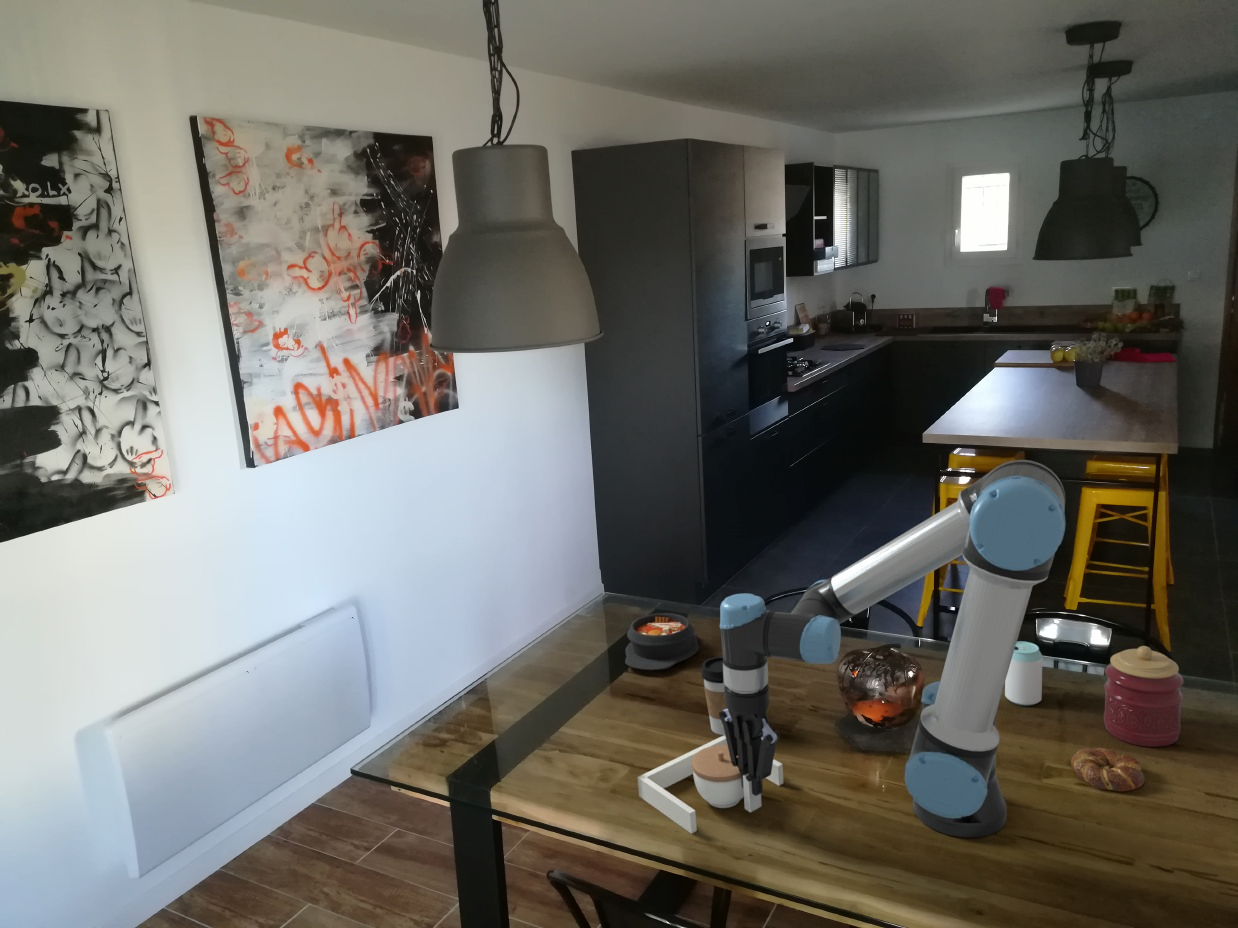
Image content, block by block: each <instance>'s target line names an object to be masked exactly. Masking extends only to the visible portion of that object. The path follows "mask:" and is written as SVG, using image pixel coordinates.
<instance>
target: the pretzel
mask: <svg viewBox="0 0 1238 928" xmlns="http://www.w3.org/2000/svg"><path fill="white" fill-rule="evenodd" d="M1070 764H1071V767H1072V769H1073V771H1074V772H1075V773H1076V776H1077V777H1078V778H1079V779H1080V780H1082V781H1083V782H1086V783H1089V784H1090V786H1092V787H1093V788H1096V789H1099V790H1104V791H1107V790H1108V791H1113V792H1129V791H1132V790H1136V789H1138V788H1140V787H1141V786H1143V784H1144V783H1145V781H1146V780H1145V775H1144V773H1143V772H1142V771H1141V770H1142V766H1141V764H1140V761H1138V760H1137V759H1136V758H1135V757H1133V756H1131V755H1128V754H1123V755H1119V753H1118V752H1115V751H1114V750H1112V749H1109V748H1105V747H1096V748H1092V747H1091V748H1081V749H1079V750H1076V752H1075V753H1074V754H1073V755H1072V757H1071V761H1070Z"/></svg>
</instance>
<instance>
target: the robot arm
mask: <svg viewBox="0 0 1238 928" xmlns="http://www.w3.org/2000/svg"><path fill="white" fill-rule="evenodd" d="M1065 507H1066V492H1065V489H1064V486H1063V483H1062V481H1061V480H1060V479H1059V477H1058V476H1057V474H1055V472H1054V471H1053V470H1052V469H1050V468H1049V467H1047V466H1046V465H1044V464H1042V463H1039V462H1037V461H1033V460H1029V459H1028V460H1027V459H1016V460H1011V461H1006V462H1004V463H1002V464H1000V465H998V466H996V467H994V468H993V469H992V470H990V471H989V472H987V473H986V474H985V475H984V476H982V477H981V478H980V479H978V480H976V481H975V482H974V483H972V484H970V485H969V486H967V487H966V488H964V489H962V490H961V491H959V493H958V496H957V501H956V502H953V503H952V504H950V505H949V506H947V507H946V508H944V509H942V510H940V511H939V512H937V513H935V514H934V515H932V516H931V517H929V518H927V519H925V520H924V521H922V522H921V523H919V524H917V525H916V526H914V527H912V528H910V529H908V530H907V531H906V532H904V533H902V534H901V535H899V536H897V537H895V538H894V539H892V540H891V541H889V542H887V543H886V544H883V545H882V546H880V547H879V548H878V549H876V550H874V551H872V552H871V553H869V554H867V555H866V556H864V557H862V558H861V559H859V560H857V561H856V562H854V563H852V564H851V565H849V566H847V567H846V568H843V570H841V571H840V572H837V573H836V574H834V575H833V576H831V577H830V578H827V579H820V580H818V581H815V582H814V583H813V584H812V585H810V586H809V587H808V588H807V589H806V590H805V592H804V594H803V595H802V597H801V598H800V599H799V600H798V603H797V604H796V605H795V607H794V608H793V609H792V611H791V612H790V613H789V612H782V611H781V612H779V611H773V610H767V606H766V605H765V601H764V599H763V598H762V597H761V596H758V595H755V594H753V593H736V594H732V595H730V596H727V597H725V598H724V600H723V601H721V603H720V607H719V609H720V612H719V613H720V614H719V615H720V616H719V617H720V622H719V629H720V639H721V650H722V651H721V652H722V653H721V654H722V656H723V678H724V684H725V687H724V691H725V704H726V707H727V709H725V710H723V711H721V712H719V717H720V719H721V721H722V724H723V727H724V731H725V736H726V740H727V745H728V749H729V754H730V758H731V763H732V765H733V766H734V767H735V766H737V767H738V768H739V772H740V773H741V782H742V788H743V789H744V797H743V800H744V803H743V805H744V810H746V811H747V812H749V813H753V812H754V811H756V810H757V809H759V808H761V807H762V805H763V804H762V793H763V790H764V789H763V780H765V779H766V777H768V776H770V775H771V771H772V765H773V759H774V760H775V758H774V757H775V753H776V745H777V742H778V740H779V739H780V738H781V734H780V732H779V731H778V730H775V731H773V729H772V728H771V727H770V726H769V724H770V723H769V722H770V720H769V718H768V715H767V710H768V708H769V705H770V687H769V685H768V684H769V671H768V670H769V669H768V658H772V659H773V658H775V659H782V660H788V661H789V660H790V661H796V662H800V663H801V662H802V663H807V664H811V665H812V664H822V665H823V664H826V665H829V664H833V663H834V662H835V661H836V660H837V659H838V656H839V651H840V649H841V641H842V639H841V637H842V633H841V626H840V625H841V624H842V623H844V622H845V621H848V620H849V619H851V618H852V617H854V616H856V615H857V614H859V613H861V612H863V611H864V610H866V609H868V608H870V607H872V606H874V605H875V604H876V603H879V602H880V601H882V600H884V599H886V598H887V597H889V596H891V595H893V594H895V593H896V592H898V591H900V590H902V589H903V588H905V587H907V586H909V585H911V584H912V583H914V582H916V581H918V580H920V579H921V578H923V577H925V576H926V575H928V574H930V573H931V572H934V571H936V570H938V569H939V568H941V567H943V566H945V565H946V564H948V563H950V562H952V561H953V560H955V559H957V558H958V557H961V556H962V558H963V559H964V561H965V562H966V564H967V565H968V567H969V572H968V575H967V580H966V583H965V586H964V587H965V588H964V590H963V594H962V598H961V602H960V605H959V609H958V613H957V618H956V621H955V626H954V629H953V633H952V635H951V640H950V644H949V647H948V651H947V655H946V659H945V662H944V667H943V670H942V674H941V678H940V680H939V681H934V682H931V683H929V684H927V685H926V686H925V687H923V690H922V696H921V698H920V702H921V703H922V707H921V710H922V711H921V714H920V717H919V719H918V725H917V728H916V730H915V735H914V739H913V743H912V746H911V751H910V755H909V757H908V760H907V761H906V763H905V766H904V782H905V786H906V789H907V791H908V793H909V794H910V796H911V797H912V808H913V811H914V813H915V816H917V818H918V819H919V820H920V821H921V822H922V823H923V824H924V825H925V826H927V827H929V828H931V829H932V830H933V831H934V830H935V831H937V832H939V833H942V834H945V835H949V836H953V837H958V838H972V839H973V838H981V837H988V836H989V835H990V836H991V835H994V834H996V832H999V831H1000V830H1001V829H1002V828H1003V827H1004V826H1005V825H1006V823H1007V819H1008V817H1007V816H1008V815H1007V814H1008V813H1007V812H1008V809H1007V807H1008V806H1007V802H1006V799H1005V797H1004V794H1003V791H1002V788H1001V786H1000V782H999V779H998V777H997V772H996V771H997V770H996V767H997V766H996V765H997V759H996V758H997V757H996V756H997V750H998V747H999V744H1000V739H1001V738H1000V737H1001V736H1000V732H999V731H998V729H997V712H998V708H999V704H1000V701H1001V697H1002V693H1003V691H1004V688H1005V680H1006V677H1007V673H1008V670H1009V666H1010V663H1011V659H1012V656H1013V652H1014V649H1015V645H1016V642H1018V638H1019V636H1020V631H1021V628H1022V627H1021V626H1022V624H1023V621H1024V618H1025V614H1026V611H1027V607H1028V603H1029V600H1030V597H1031V592H1032V589H1033V586H1035V585H1037V584H1040V583H1043V582H1044V581H1046V580H1047V579H1048V577H1049V574H1050V570H1051V569H1052V568H1051V567H1052V564H1053V561H1054V557H1055V555H1056V554H1055V553H1056V552H1057V550H1058V548H1059V546H1061V544H1062V542H1063V539H1064V535H1065V531H1066V515H1065V509H1066V508H1065ZM736 756H738V757H736Z"/></svg>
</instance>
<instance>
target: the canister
mask: <svg viewBox="0 0 1238 928" xmlns="http://www.w3.org/2000/svg"><path fill="white" fill-rule="evenodd" d="M1109 661H1110V663H1109V664H1108V665H1107V666H1106V667H1105V671H1104V674H1105V675H1106V677H1107V681H1106V682H1105V683H1104V687H1103V688H1104V690H1105V691H1104V692H1105V695H1104V696H1105V697H1104V712H1103V723H1104V727H1105V730H1106V731H1107V732H1108V733H1109V734H1110V735H1112V736H1113V737H1114V738H1117V739H1118V740H1120V741H1123V742H1126V743H1129V744H1131V745H1134V746H1136V745H1137V746H1141V747H1148V748H1149V747H1150V748H1151V747H1152V748H1155V747H1156V748H1157V747H1160V748H1161V747H1166V746H1170V745H1172V744H1174V743H1176V742H1177V741H1178V739H1179V736H1180V734H1181V730H1182V729H1181V727H1182V724H1181V709H1182V702H1183V699H1184V697H1183V693H1182V692H1181V689H1180V688H1181V687H1182V686H1183V685H1184V679H1183V677H1182V675H1181V673H1179V670H1180V669H1179V665H1178V664H1177V663H1176V662H1175V661H1174V660H1173V659H1171V658H1169V657H1168V656H1166V655H1165V654H1163V653H1161V652H1159V651H1155V650H1152V649H1151V648H1150V647H1149V646H1146V645H1141V646H1138V647H1137V648H1129V649H1125V650H1122V651H1120V652H1117V653H1115V654H1113V655H1112V656H1111V657H1110V660H1109Z"/></svg>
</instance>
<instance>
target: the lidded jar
mask: <svg viewBox="0 0 1238 928" xmlns="http://www.w3.org/2000/svg"><path fill="white" fill-rule="evenodd" d="M736 757H738V756H736ZM692 769H693V774H692V775H693V776H692V777H693V781H694V785H695V788H696V789H697V792H698V794H699V795H700V797H702V798H703V799H704V801H707V803H708V804H709V805H711V806H712V807H714V808H717V809H718V808H719V809H729V808H732V807H735V806H737V804H739V803H740V801H741V800H742V799H744V789H743V788H742V782H741V773H740V772H739V768H738V767H737V766H735V767H734V766H733V765H732V763H731V758H730V754H729V749H728V746H726V745H718V746H711V747H707V748H704V749H702V750H700V751H699V752H697V753H696V754H695V755H694V757H693V758H692Z"/></svg>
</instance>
